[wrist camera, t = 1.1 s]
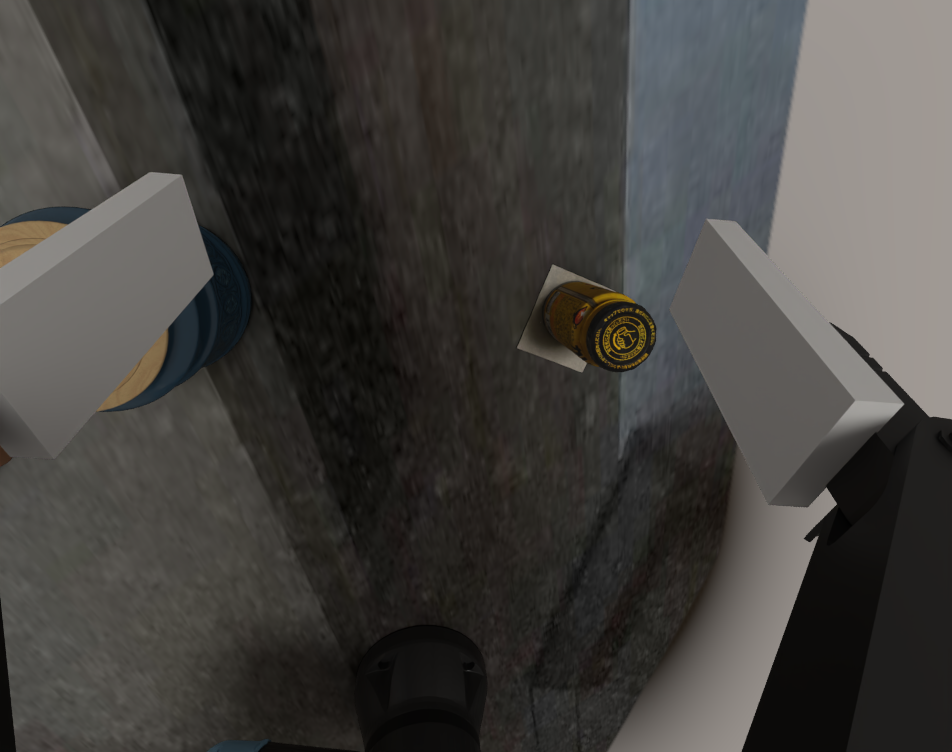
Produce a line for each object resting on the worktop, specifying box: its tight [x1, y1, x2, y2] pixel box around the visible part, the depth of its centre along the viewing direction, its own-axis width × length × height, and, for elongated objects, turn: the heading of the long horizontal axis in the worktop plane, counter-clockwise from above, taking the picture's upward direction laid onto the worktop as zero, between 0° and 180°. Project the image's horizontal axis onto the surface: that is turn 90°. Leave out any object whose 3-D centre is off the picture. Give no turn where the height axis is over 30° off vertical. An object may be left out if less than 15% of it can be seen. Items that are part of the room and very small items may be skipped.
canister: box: [0, 207, 252, 412], centre depth 33 cm, size 13×13×18 cm
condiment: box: [517, 265, 656, 372], centre depth 41 cm, size 7×8×12 cm
